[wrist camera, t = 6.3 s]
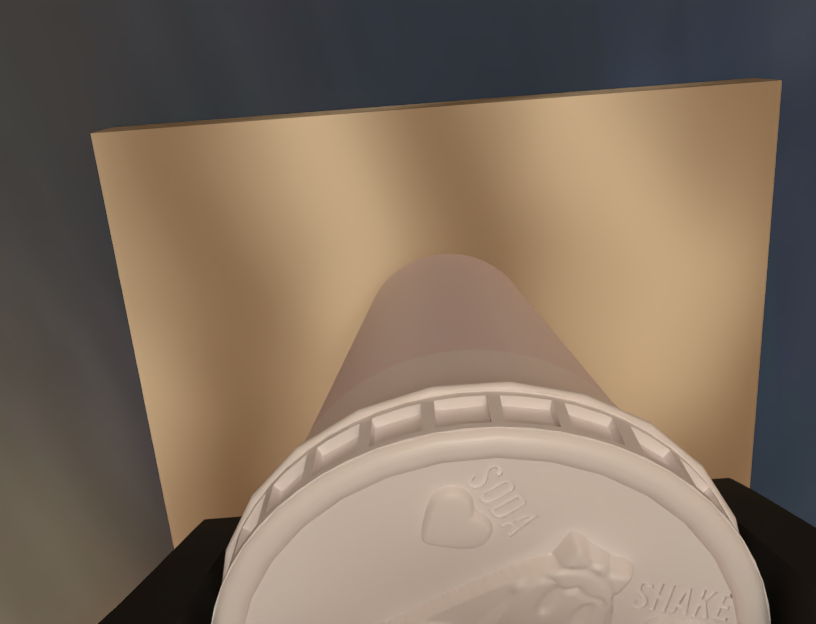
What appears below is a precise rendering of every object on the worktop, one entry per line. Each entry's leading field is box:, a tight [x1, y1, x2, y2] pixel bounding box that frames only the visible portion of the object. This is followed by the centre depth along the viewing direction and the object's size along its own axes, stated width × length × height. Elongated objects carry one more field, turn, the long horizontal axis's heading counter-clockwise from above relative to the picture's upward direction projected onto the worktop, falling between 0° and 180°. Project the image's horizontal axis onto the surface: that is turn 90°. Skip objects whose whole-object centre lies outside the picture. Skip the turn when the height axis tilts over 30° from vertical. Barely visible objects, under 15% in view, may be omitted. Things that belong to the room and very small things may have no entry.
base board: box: [91, 78, 782, 549], centre depth 21 cm, size 16×16×2 cm
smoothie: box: [211, 254, 771, 624], centre depth 11 cm, size 6×6×14 cm
